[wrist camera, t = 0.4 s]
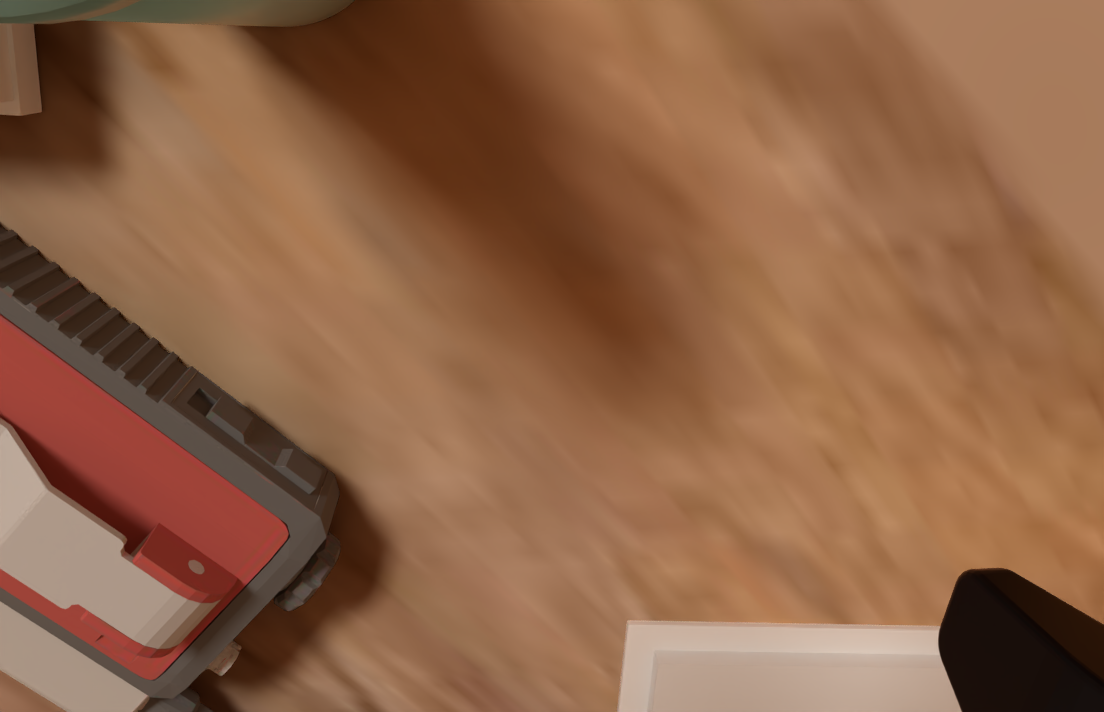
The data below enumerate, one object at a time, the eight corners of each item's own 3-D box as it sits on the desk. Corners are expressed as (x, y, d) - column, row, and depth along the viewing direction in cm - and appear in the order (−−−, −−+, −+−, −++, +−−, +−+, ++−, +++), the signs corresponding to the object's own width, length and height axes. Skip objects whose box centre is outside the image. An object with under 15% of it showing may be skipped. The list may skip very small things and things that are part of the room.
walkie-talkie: (-294, 411, 23) (363, 831, 28) (-470, 496, 18) (343, 971, 24) (-88, 133, 21) (568, 636, 26) (-229, 158, 17) (586, 750, 22)
